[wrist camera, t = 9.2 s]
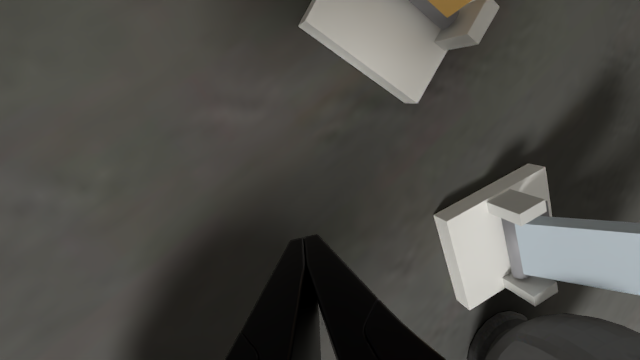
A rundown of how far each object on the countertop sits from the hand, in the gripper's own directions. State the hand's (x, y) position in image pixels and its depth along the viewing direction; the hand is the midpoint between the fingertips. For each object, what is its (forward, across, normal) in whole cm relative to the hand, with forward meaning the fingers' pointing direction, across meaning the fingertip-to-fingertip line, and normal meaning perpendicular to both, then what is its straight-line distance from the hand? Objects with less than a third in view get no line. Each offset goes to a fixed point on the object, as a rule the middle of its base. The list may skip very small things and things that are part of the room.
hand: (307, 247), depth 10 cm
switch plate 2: (+12, +15, -16) cm, 25 cm away
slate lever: (+10, +15, -16) cm, 24 cm away
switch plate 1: (+17, +8, +3) cm, 19 cm away
